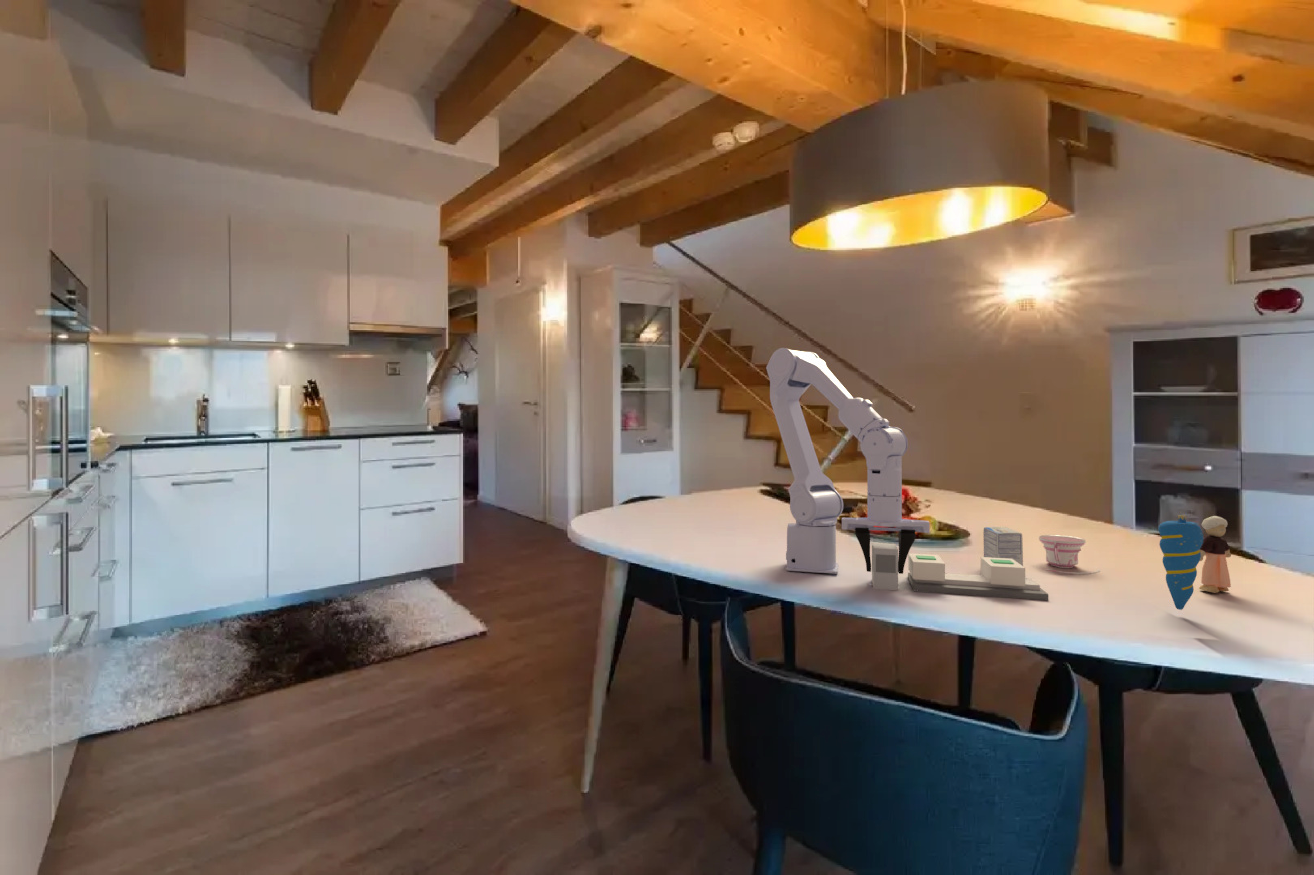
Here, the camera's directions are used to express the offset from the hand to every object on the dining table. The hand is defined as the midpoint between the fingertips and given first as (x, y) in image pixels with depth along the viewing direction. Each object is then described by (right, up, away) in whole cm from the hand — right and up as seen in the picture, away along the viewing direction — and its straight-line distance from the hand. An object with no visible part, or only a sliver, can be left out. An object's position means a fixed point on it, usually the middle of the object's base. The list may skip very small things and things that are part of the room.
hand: (884, 571), depth 106 cm
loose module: (0, -2, 0) cm, 2 cm away
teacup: (+41, -3, +13) cm, 43 cm away
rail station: (+14, -2, -2) cm, 15 cm away
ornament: (+39, -2, -15) cm, 42 cm away
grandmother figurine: (+55, -2, -4) cm, 56 cm away
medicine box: (+25, -3, +8) cm, 27 cm away
